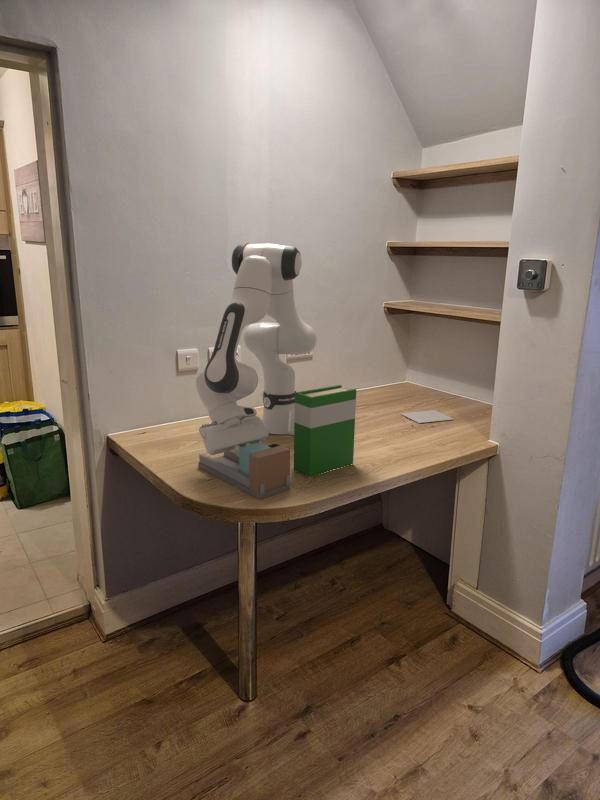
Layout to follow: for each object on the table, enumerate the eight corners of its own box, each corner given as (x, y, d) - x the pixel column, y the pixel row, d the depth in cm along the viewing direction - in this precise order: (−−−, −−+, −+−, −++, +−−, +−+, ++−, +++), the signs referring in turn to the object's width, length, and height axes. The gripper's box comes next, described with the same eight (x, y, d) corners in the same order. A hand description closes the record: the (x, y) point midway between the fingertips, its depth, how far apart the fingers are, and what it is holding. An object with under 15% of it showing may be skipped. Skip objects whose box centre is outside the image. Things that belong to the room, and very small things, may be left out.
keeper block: (259, 472, 166) (259, 442, 163) (274, 479, 161) (274, 449, 158) (239, 478, 161) (239, 447, 159) (254, 485, 156) (254, 454, 154)
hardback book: (336, 457, 183) (339, 384, 177) (353, 464, 178) (356, 389, 172) (293, 469, 173) (294, 392, 167) (309, 477, 167) (311, 397, 161)
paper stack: (469, 427, 219) (470, 425, 219) (414, 434, 210) (414, 432, 209) (434, 411, 240) (434, 410, 240) (381, 416, 231) (381, 415, 230)
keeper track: (228, 459, 180) (227, 424, 177) (290, 488, 159) (291, 449, 156) (198, 467, 173) (197, 430, 170) (259, 499, 152) (259, 458, 149)
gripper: (200, 419, 158) (221, 463, 154) (259, 407, 172) (280, 447, 167) (192, 431, 163) (212, 473, 158) (250, 418, 176) (270, 457, 171)
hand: (247, 459), depth 163 cm, fingers closed, pressing on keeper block
